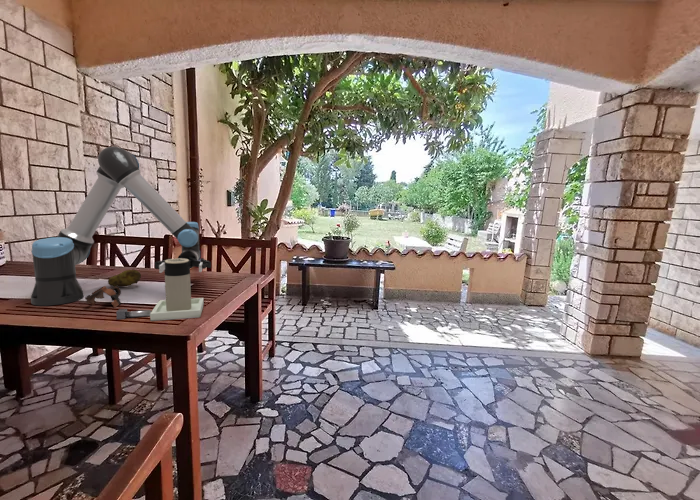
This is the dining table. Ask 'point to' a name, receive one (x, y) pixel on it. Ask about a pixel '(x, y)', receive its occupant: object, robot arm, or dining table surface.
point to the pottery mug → (100, 294)
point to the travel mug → (177, 285)
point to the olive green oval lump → (125, 278)
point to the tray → (163, 314)
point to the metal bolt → (131, 313)
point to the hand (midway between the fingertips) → (180, 269)
